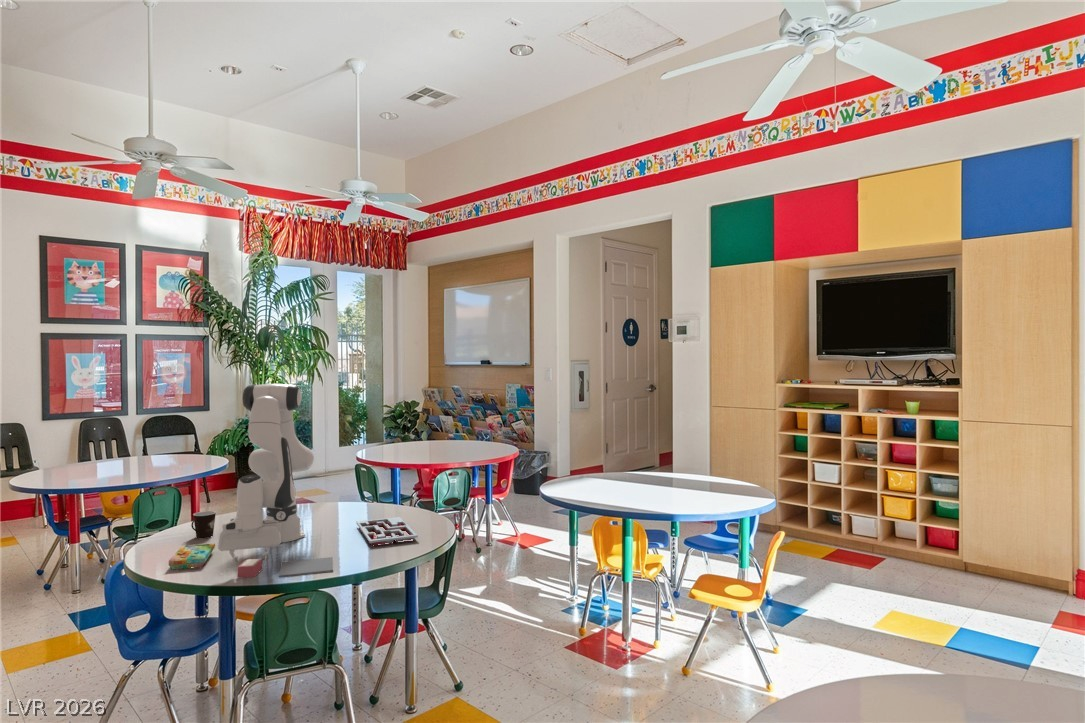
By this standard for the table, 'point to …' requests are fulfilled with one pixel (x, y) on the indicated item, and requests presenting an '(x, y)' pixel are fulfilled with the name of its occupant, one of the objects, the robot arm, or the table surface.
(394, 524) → the maze game
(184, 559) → the puzzle game
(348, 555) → the table surface
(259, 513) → the robot arm
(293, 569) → the mat
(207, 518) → the coffee mug
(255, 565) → the card deck
